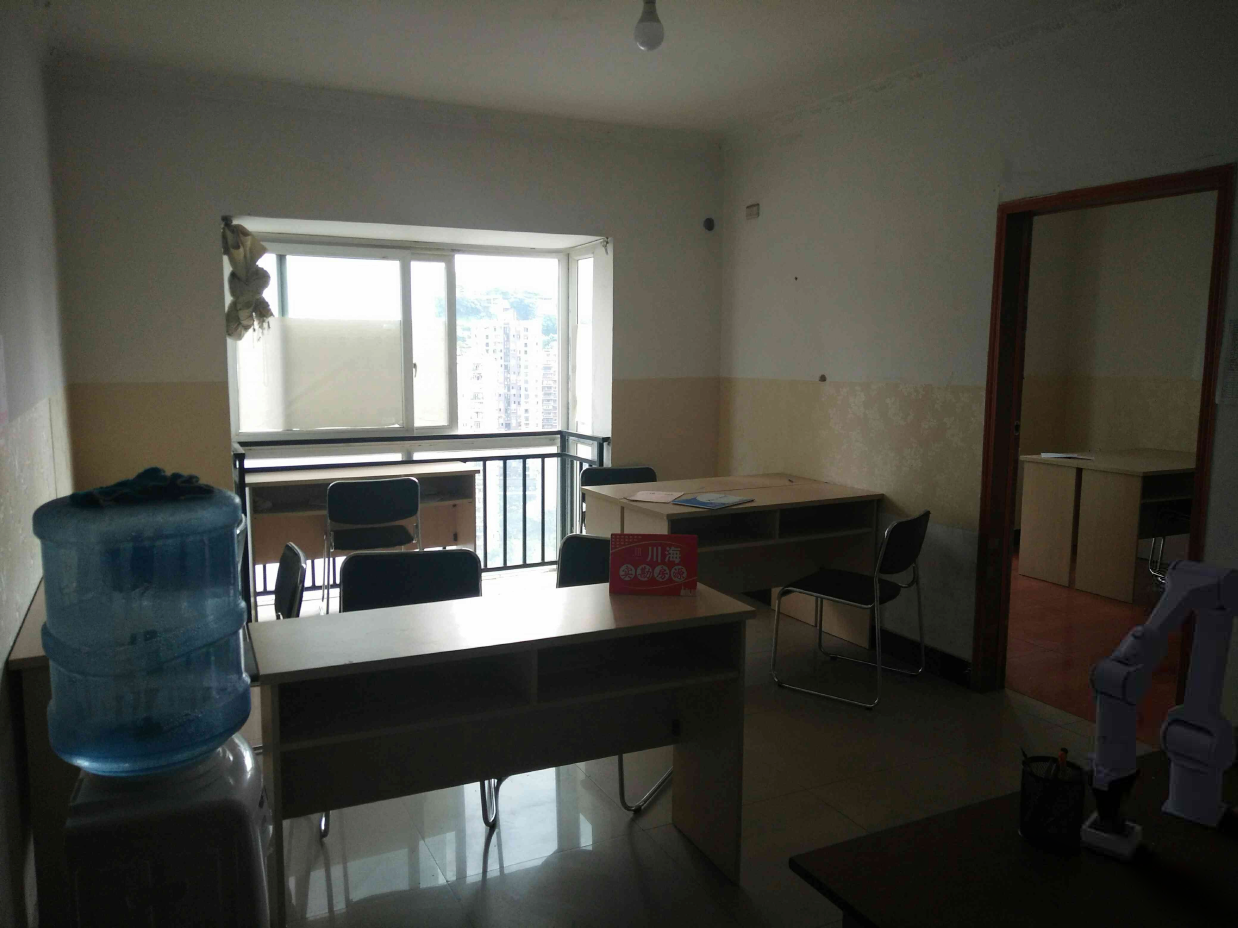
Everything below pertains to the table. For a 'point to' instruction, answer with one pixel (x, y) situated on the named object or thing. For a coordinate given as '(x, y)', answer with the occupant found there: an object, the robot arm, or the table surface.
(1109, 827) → the walnut peg
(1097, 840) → the socket block
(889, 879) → the table surface
